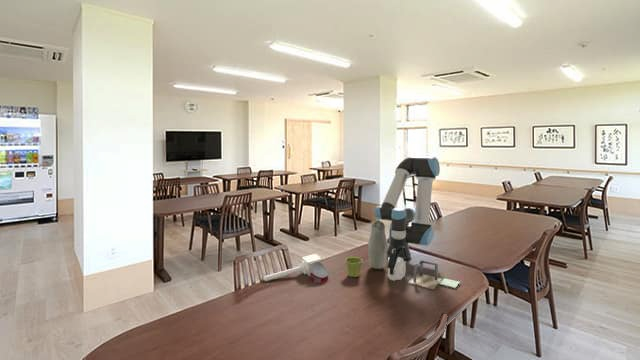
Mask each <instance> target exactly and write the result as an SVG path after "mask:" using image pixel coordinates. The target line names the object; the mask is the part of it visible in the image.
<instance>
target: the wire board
mask: <svg viewBox="0 0 640 360" xmlns="http://www.w3.org/2000/svg"><path fill="white" fill-rule="evenodd" d="M413 278H414V276H413V277H412V278H411V279H410V280H409V281H407V282H408V283H407V284H409V285H412V284H413V285H412V286H416V285H417V287H420V286H422V287H421V288H423V287H426V288H425V289H427V288H430V289H429V290H431V289H434V288H435V287H436V286H437V285H438V284H439V283H440V282H441V281H442V280H443V278H440V277H438V280H435V276H432V275H428V274H424V273H423V276H420V272H418V273H416V282H414V281H413ZM438 286H439V285H438ZM438 286H437V287H438ZM437 287H436V288H437ZM436 288H435V289H436ZM435 289H434V290H435Z"/></svg>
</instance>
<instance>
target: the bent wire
mask: <svg viewBox="0 0 640 360" xmlns="http://www.w3.org/2000/svg"><path fill="white" fill-rule="evenodd" d="M424 264H427V265H432V266H434V277H435V280H438V278H439V277H438V276H439V275H438V274H439V272H438V271H439V264H438V263H435V262H430V261H426V260H420V261H419V262H417V263H416V264H415V265H413V277H414V278H413V277H412V278H413V281H414V282H416V275H417V268H418V266H419V273H420V276H423V274H424V273H423V272H424Z"/></svg>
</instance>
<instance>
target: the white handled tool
mask: <svg viewBox="0 0 640 360" xmlns="http://www.w3.org/2000/svg"><path fill="white" fill-rule="evenodd" d="M301 259H302V261H301V262H300V265H299V266H296V267H292V268H289V269H285V270H282V271H278V272H275V273H271V274H267V275H264V276H263V279H264V282H268V281H273V280H275V279H280V278H283V277H286V276H290V275H293V274H297V273H300V272H302V273H303V274H304V275H307V276H308V277H310V273H311V272H312V271H311V265H310V264H311V263H315V262H319V261H321V260H322V259H323V258H321V256H319V255H318V254H317V253H313V254H309V255H306V256H302V257H301Z"/></svg>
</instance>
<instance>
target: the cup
mask: <svg viewBox="0 0 640 360" xmlns="http://www.w3.org/2000/svg"><path fill="white" fill-rule="evenodd" d="M389 258H390V257H389ZM389 258H387V263H388V262H389ZM403 264H404V273H403ZM406 269H407V267H406V268H405V263H404V259H403V258H401V257H398V258H397V261H396V264H395V281H396V280H397V281H399V280H400V281H401V280H403V279H404V277H405V276H406V272H407V270H406ZM405 271H406V272H405ZM387 277H388V278H389V279H390V268H388V267H387ZM402 278H403V279H402Z"/></svg>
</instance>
